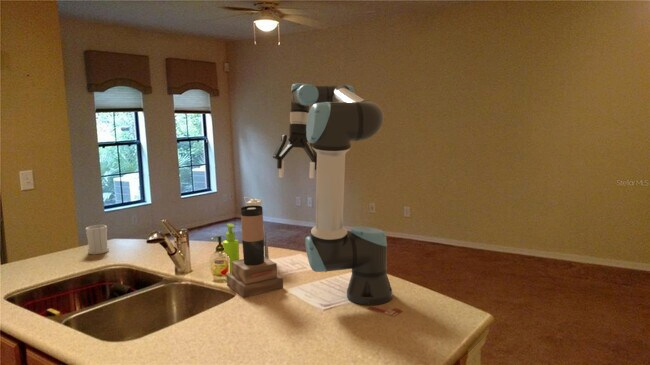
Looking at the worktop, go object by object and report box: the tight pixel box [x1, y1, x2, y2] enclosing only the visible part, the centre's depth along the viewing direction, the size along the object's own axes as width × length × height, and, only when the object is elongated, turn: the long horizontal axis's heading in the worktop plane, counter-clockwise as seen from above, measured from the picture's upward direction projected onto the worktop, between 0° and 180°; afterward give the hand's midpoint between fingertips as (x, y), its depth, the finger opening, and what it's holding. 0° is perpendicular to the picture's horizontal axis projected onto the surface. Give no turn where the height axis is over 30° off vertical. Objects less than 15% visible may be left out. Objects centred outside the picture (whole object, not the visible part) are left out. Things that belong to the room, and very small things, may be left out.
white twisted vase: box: [243, 196, 270, 260], centre depth 197 cm, size 8×8×28 cm
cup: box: [85, 224, 110, 255], centre depth 217 cm, size 10×9×12 cm
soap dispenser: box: [222, 222, 240, 274], centre depth 181 cm, size 6×7×20 cm
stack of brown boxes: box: [226, 256, 284, 299], centre depth 167 cm, size 15×15×9 cm
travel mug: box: [240, 205, 265, 265], centre depth 165 cm, size 8×8×20 cm
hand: (296, 178), depth 184 cm, fingers open, 13 cm apart
